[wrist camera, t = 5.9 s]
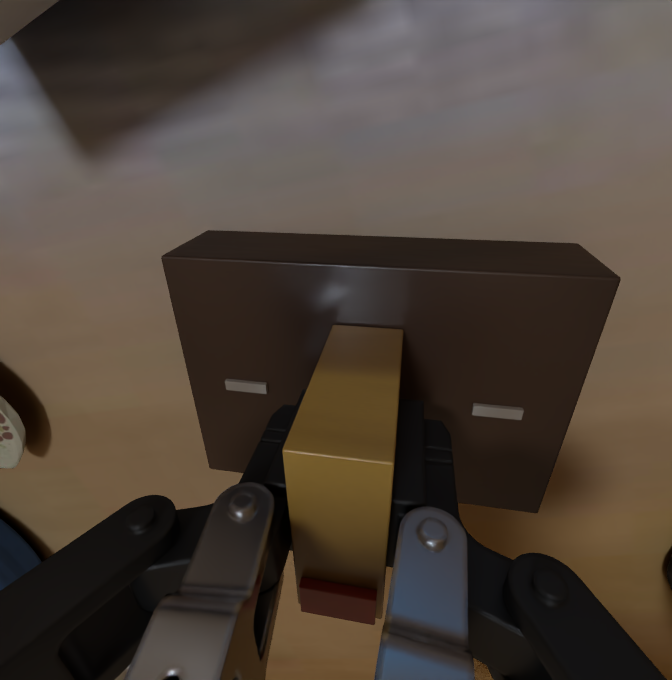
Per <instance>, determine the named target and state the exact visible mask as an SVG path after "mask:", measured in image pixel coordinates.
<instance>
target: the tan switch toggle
mask: <svg viewBox="0 0 672 680" xmlns="http://www.w3.org/2000/svg"><path fill="white" fill-rule="evenodd" d="M403 332H404V331H403V330H402V329H389V328H374V327H360V326H346V325H333V326H332V329H331V331H330V334H329V336H328V338H327V341H326V343H325V346H324V348H323V351H322V353H321V356H320V358H319V361H318V363H317V365H316V368H315V370H314V373H313V375H312V378H311V380H310V383H309V385H308V388H307V390H306V393H305V395H304V397H303V400H302V402H301V405H300V407H299V410H298V412H297V415H296V417H295V420H294V422H293V425H292V427H291V429H290V432H289V434H288V437H287V439H286V442H285V444H284V447H283V449H282V453H283V462H284V472H285V481H286V491H287V500H288V509H289V519H290V528H291V537H292V547H293V556H294V565H295V575H296V584H297V594H298V603H299V604H301V611H302V612H307V613H313V614H318V615H323V616H329V617H334V618H339V619H344V620H350V621H355V622H360V623H366V624H371V625H374V624H375V618H378V619H381V618H382V612H383V600H384V587H385V575H386V563H387V550H388V538H389V525H390V513H391V501H392V488H393V476H394V463H395V449H396V434H397V419H398V405H399V390H400V376H401V361H402V346H403Z"/></svg>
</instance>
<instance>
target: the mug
mask: <svg viewBox="0 0 672 680" xmlns="http://www.w3.org/2000/svg"><path fill="white" fill-rule="evenodd" d="M58 1H59V0H0V45H1V44H2V43H4V42H5V41H6V40H8V39H9V38H10V37H12V36H13V35H14V34H15V33H17V32H18V31H19V30H21V29H22V28H23V27H25V26H26V25H27V24H29V23H30V22H31V21H33V20H34V19H35V18H37V17H38V16H39V15H41V14H42V13H43V12H44V11H46V10H47V9H48V8H50V7H51V6H52V5H54V4H55V3H56V2H58Z"/></svg>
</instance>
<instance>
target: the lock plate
mask: <svg viewBox="0 0 672 680" xmlns="http://www.w3.org/2000/svg"><path fill="white" fill-rule="evenodd" d="M162 263H163V267H164V272H165V276H166V280H167V285H168V289H169V293H170V298H171V302H172V306H173V311H174V315H175V319H176V324H177V328H178V332H179V337H180V341H181V345H182V350H183V354H184V358H185V363H186V367H187V371H188V376H189V380H190V384H191V389H192V393H193V397H194V402H195V406H196V410H197V415H198V419H199V423H200V428H201V432H202V437H203V441H204V445H205V450H206V454H207V458H208V463H209V467H210V468H211V469H217V470H225V471H232V472H239V473H244V472H245V470H246V467H247V465H248V463H249V461H250V459H251V457H252V455H253V453H254V451H255V449H256V447H257V445H258V443H259V441H260V439H261V437H262V435H263V432H264V431H265V430H266V426H267V424H268V422H269V420H270V418H271V416H272V414H274V413H275V412H276V411H277V410H278V409H279V408H281V407H282V406H283V405H284V404H286V405H296V404H297V402H298V400H299V397H300V395H301V392H302V390H303V389H307V388H308V385H309V383H310V380H311V378H312V375H313V373H314V370H315V368H316V365H317V363H318V361H319V358H320V356H321V353H322V351H323V348H324V346H325V343H326V341H327V338H328V336H329V334H330V331H331V329H332V326H333V325H346V326H360V327H374V328H389V329H402V330H403V331H404V332H403V346H402V361H401V376H400V390H399V398H400V399H411V400H421V401H424V419H430V420H439V421H442V422H443V424H444V425H445V427H446V428H447V430H448V431H449V433H450V434H451V443H452V453H453V465H454V473H455V482H456V492H457V502H458V503H465V504H473V505H480V506H487V507H494V508H502V509H509V510H516V511H524V512H531V513H538V510H539V508H540V505H541V502H542V499H543V496H544V494H545V491H546V488H547V485H548V482H549V479H550V477H551V474H552V471H553V468H554V465H555V463H556V460H557V457H558V454H559V451H560V449H561V446H562V443H563V440H564V437H565V435H566V432H567V429H568V426H569V423H570V420H571V418H572V415H573V412H574V409H575V406H576V404H577V401H578V398H579V395H580V392H581V390H582V387H583V384H584V381H585V378H586V376H587V373H588V370H589V367H590V364H591V361H592V359H593V356H594V353H595V350H596V347H597V345H598V342H599V339H600V336H601V333H602V331H603V328H604V325H605V322H606V319H607V316H608V314H609V311H610V308H611V305H612V302H613V300H614V297H615V294H616V291H617V288H618V286H619V283H620V277H619V276H618V275H616V274H615V273H614V272H613V271H611V270H610V269H609V268H608V267H606V266H605V265H604V264H603V263H601V262H600V261H599V260H598V259H597V258H595V257H594V256H593V255H592V254H590V253H589V252H588V251H587V250H585V249H584V248H583V247H582V246H580V245H579V244H574V243H546V242H518V241H490V240H462V239H434V238H406V237H378V236H350V235H322V234H294V233H266V232H238V231H210V230H208V231H206V232H204V233H203V234H201V235H199V236H197V237H195V238H193V239H192V240H190V241H188V242H186V243H184V244H183V245H181V246H179V247H177V248H175V249H173V250H172V251H170V252H168V253H166V254H164V255H163V256H162Z"/></svg>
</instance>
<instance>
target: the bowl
mask: <svg viewBox="0 0 672 680" xmlns="http://www.w3.org/2000/svg"><path fill="white" fill-rule="evenodd" d="M40 563H42V562H41V560H40V558H39V557H38V556H37V554H36V553H35V552H34V550H33V549H32V548H31V547H30V546H29V544H28V543H27V542H26V541H25V540H24V539H23V538H22V537H21V536H20V535H19V534H18V533H17V532H16V531H15V530H13V529H12V528H11V527H10V526H9V525H8V524H6V523H5V522H4V521H3V520H2V519H0V591H1V590H2V589H4V588H5V587H7V586H8V585H9V584H11V583H12V582H14V581H15V580H17V579H18V578H20V577H21V576H23V575H24V574H26V573H27V572H29V571H30V570H31V569H33V568H34V567H36V566H37V565H39V564H40Z"/></svg>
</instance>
